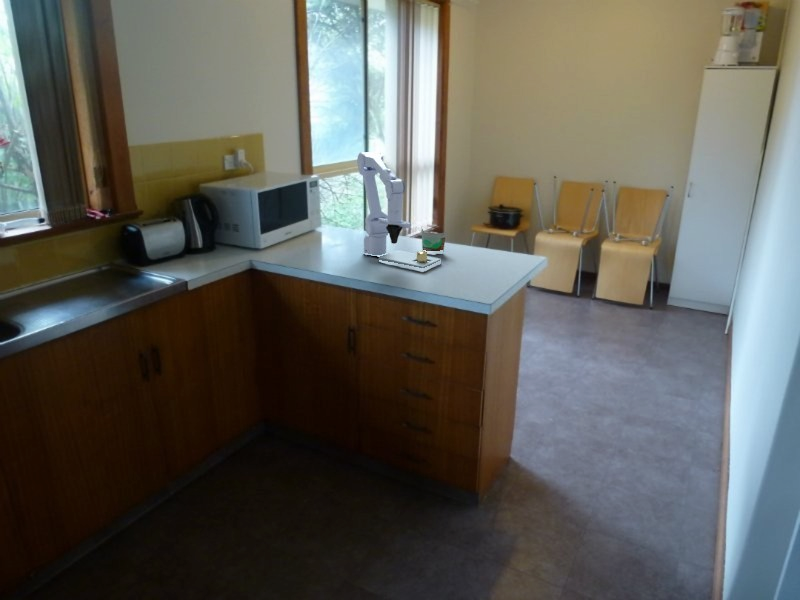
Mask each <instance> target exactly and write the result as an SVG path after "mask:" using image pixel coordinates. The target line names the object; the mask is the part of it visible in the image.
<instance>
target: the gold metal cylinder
mask: <svg viewBox="0 0 800 600" xmlns="http://www.w3.org/2000/svg"><path fill="white" fill-rule="evenodd" d="M416 254H417V262H420V263H424V264H425V263H427V256H428V255H427V252H425V251H423V250H420V251H417V252H416Z"/></svg>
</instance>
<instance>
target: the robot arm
mask: <svg viewBox="0 0 800 600" xmlns="http://www.w3.org/2000/svg"><path fill="white" fill-rule="evenodd" d="M356 162H357V163H356V164H357V167H358V171H359V175H361V176H362V180H363V183H364V188H365V194H366V199H367V204H368V208H369V209H368V210H369V214H368V215H367V216H366V217H365V220H364V222H365V227H364V228H365V232H366V234H365V236H364V238H363V253H368V254H372V255H382V254H385V253H387V236H389V238H390V243H391V244H393V245H394V244H397V242H398V240H399V236H400V233H401V231H402V230H403V228H405V229H407V230H408V229H411V228H412V223H411V222H408V221H405V220H403V218H402V217H403V215H402V214H403V194H404V193H405V191H406V184H405V181H404V179H403V178H398V176H397V175H396V174H395V173H394V171H392V169H391V168H387V166H386V165H385V163H384V155H383V153H382V152H381V151H371V152H370V151H369V152H368V151H367V152H362V151H361V152H359V153H358V155H357V160H356ZM377 174H379V179H380V181H381V182H382V183H383V185H384V186H385V187H384V188H385V193H386V199H387V214H386V213H385V212H383V210H382V206H381V201H380V196H379V192H378V188H377V187H378V186H377V181H376V175H377Z"/></svg>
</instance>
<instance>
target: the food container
mask: <svg viewBox="0 0 800 600" xmlns="http://www.w3.org/2000/svg"><path fill="white" fill-rule="evenodd" d="M447 235H448V234H447V232H446V231H445V232H437V231H429V230H428V231H427V230H424V229H423V228H421V230H420V234H419V236H421V243H422V244H421V246H422V251H423V250H426V251H440V250H443V251H444V249H445V242H446V238H447V237H448V236H447Z"/></svg>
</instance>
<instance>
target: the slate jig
mask: <svg viewBox="0 0 800 600" xmlns="http://www.w3.org/2000/svg"><path fill="white" fill-rule="evenodd" d="M387 253H388V254H386V255H383V256H380V257H379V258H378V261H379V260H382V261H388V262H394V263H398V264H404V265H409V266H414V267H419V268H425V267H427V266H430V265H432V264H434V263H436V262H438V261H440V260H441V261H442V258H439V257H434V256H431V255H427V261H429V262H427V263H425V264H424V263H420V262H415V261H417V253H414V252H409V251H405V250H402V249H401V250H399V249H397V250H394V251H390V252H387Z"/></svg>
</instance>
